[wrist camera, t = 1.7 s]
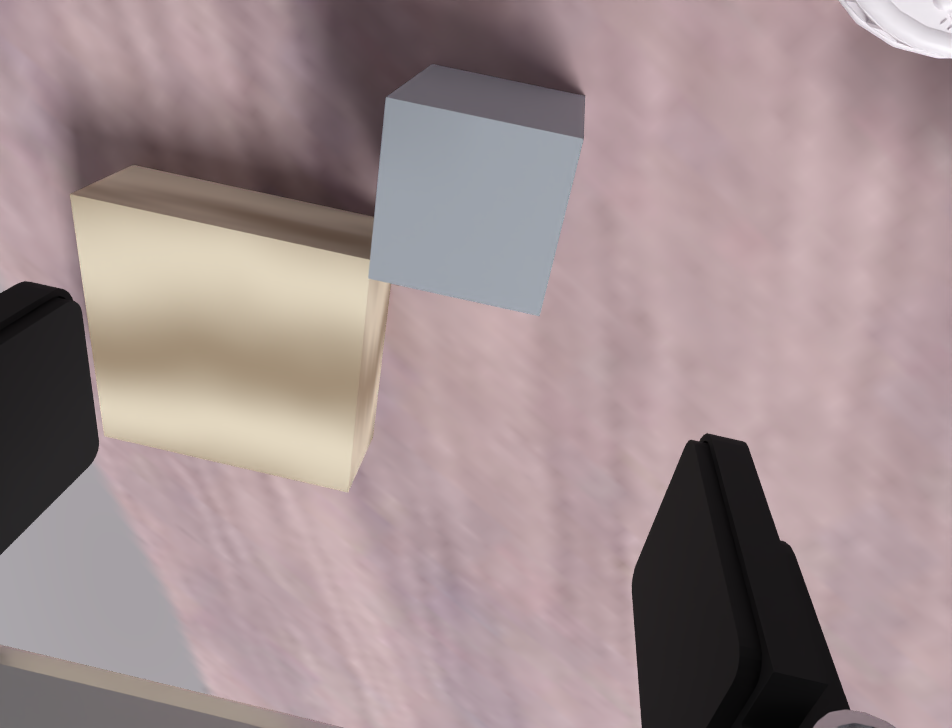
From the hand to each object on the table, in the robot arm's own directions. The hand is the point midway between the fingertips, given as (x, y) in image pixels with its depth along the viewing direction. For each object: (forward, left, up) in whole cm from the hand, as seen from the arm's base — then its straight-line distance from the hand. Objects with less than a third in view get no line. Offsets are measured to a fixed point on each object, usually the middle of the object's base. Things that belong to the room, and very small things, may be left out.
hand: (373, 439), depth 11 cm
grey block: (0, 0, -15) cm, 15 cm away
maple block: (+8, -8, -16) cm, 19 cm away
